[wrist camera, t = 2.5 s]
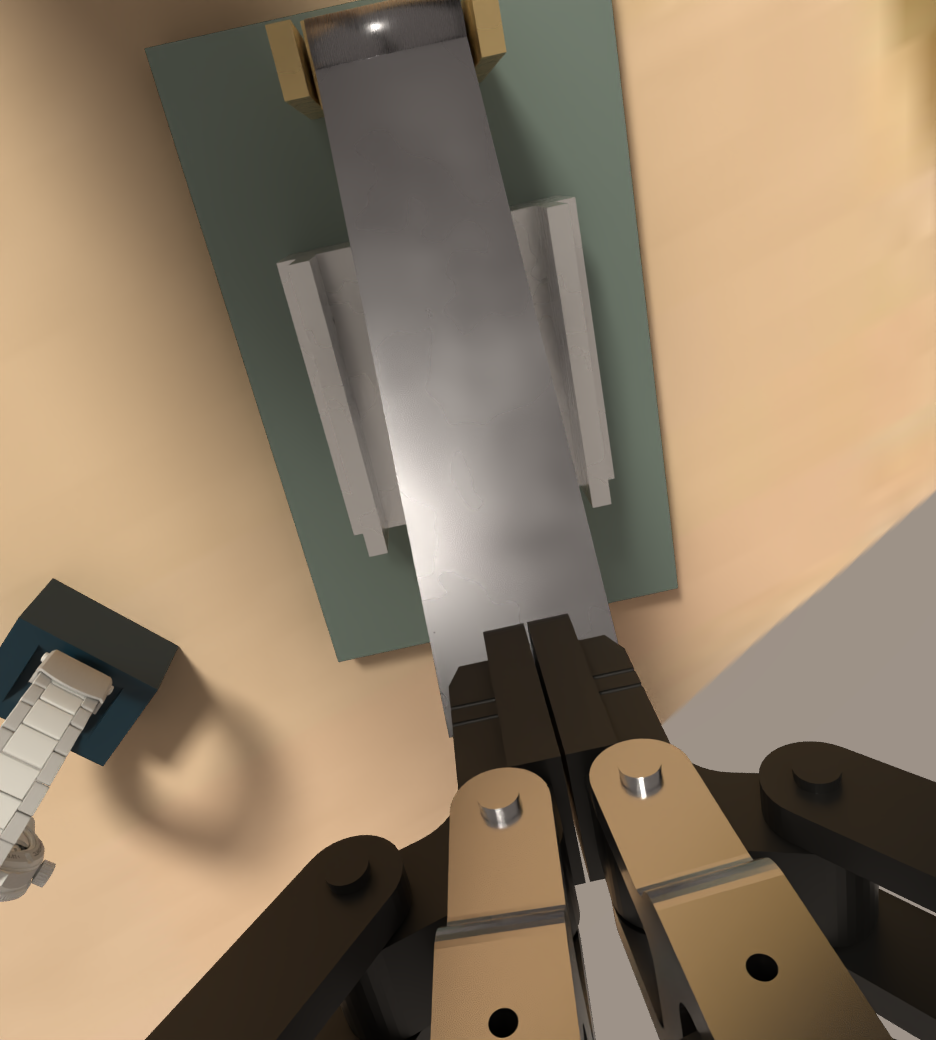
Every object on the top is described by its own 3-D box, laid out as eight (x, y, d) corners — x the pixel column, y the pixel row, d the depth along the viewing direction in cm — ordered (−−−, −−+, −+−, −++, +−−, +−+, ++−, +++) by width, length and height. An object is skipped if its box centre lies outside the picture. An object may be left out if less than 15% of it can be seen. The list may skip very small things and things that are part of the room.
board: (158, 55, 26) (144, 48, 24) (593, -43, 25) (605, -55, 24) (341, 642, 34) (338, 662, 33) (666, 571, 34) (677, 588, 33)
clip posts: (294, 54, 24) (256, 9, 18) (469, 15, 24) (496, -45, 18) (430, 590, 32) (438, 696, 25) (564, 560, 32) (607, 659, 25)
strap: (316, 55, 20) (300, 2, 19) (456, 24, 20) (452, -32, 19) (453, 733, 17) (447, 738, 15) (623, 697, 17) (634, 698, 15)
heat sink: (289, 254, 27) (266, 270, 22) (556, 195, 27) (590, 198, 22) (358, 503, 30) (350, 561, 26) (594, 451, 30) (630, 499, 26)
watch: (-18, 689, 34) (-197, 908, 24) (74, 544, 32) (-79, 717, 21) (107, 750, 35) (-10, 978, 25) (202, 616, 33) (116, 807, 23)
